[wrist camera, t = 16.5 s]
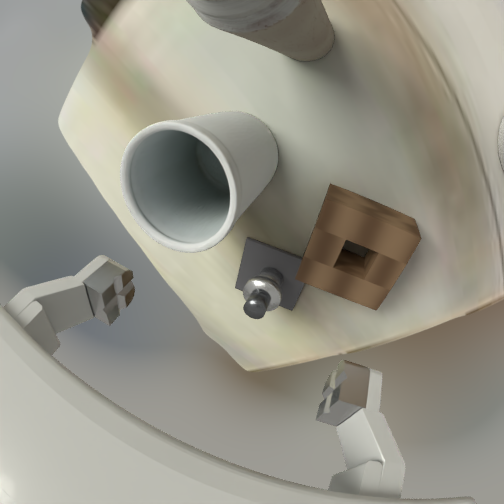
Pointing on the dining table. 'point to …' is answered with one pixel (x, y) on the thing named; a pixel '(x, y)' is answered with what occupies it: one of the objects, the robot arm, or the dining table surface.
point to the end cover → (263, 293)
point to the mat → (269, 256)
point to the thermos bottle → (273, 24)
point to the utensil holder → (196, 176)
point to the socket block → (362, 233)
